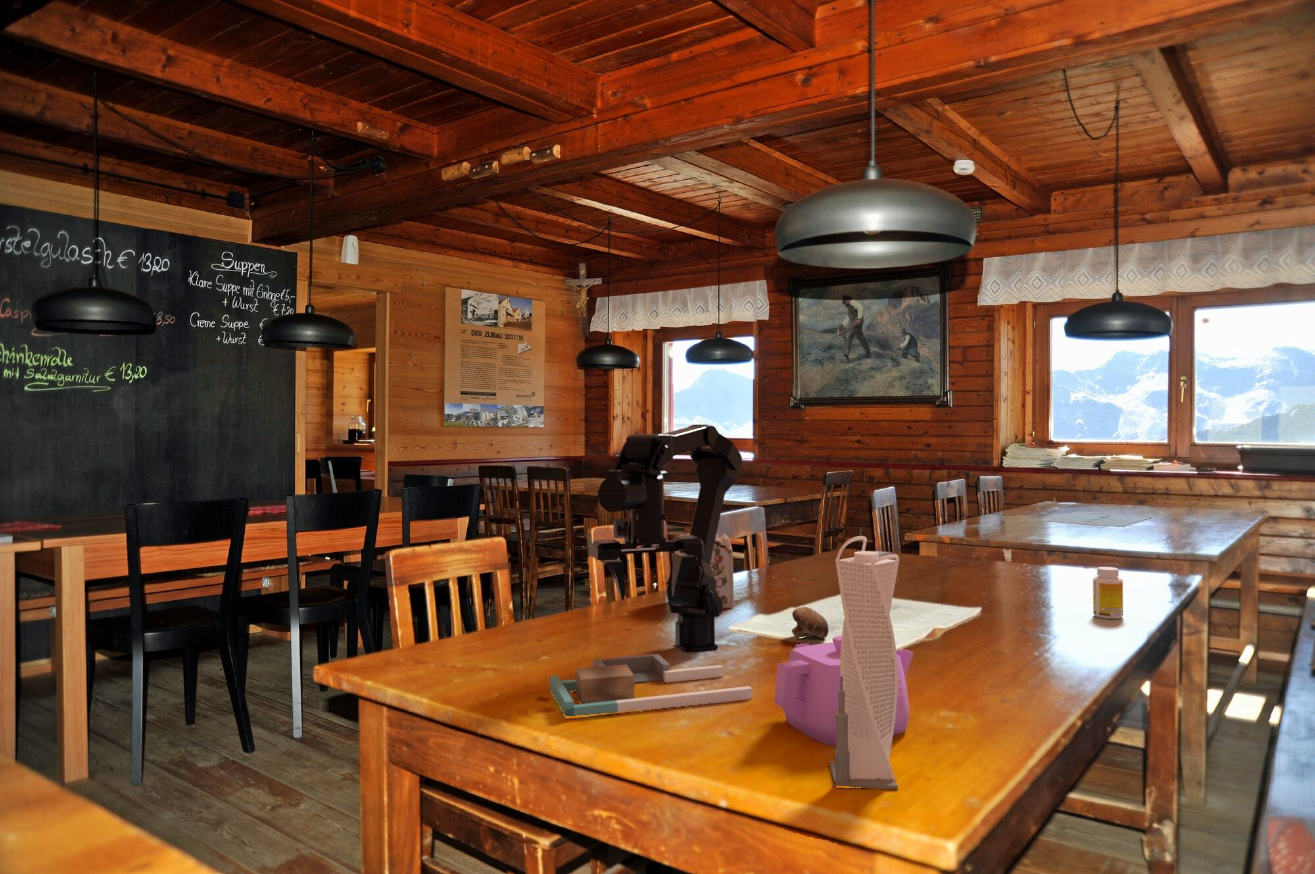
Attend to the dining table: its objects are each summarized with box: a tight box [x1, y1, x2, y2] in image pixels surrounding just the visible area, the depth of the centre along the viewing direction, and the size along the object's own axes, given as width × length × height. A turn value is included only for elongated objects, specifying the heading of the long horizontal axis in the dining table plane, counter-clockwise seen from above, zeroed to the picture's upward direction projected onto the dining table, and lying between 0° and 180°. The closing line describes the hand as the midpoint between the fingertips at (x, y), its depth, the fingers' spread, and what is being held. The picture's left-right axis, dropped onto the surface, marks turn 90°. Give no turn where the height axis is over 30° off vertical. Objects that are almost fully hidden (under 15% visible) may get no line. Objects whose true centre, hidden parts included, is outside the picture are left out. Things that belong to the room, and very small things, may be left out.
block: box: [575, 664, 635, 704], centre depth 133 cm, size 8×6×4 cm
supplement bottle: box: [1092, 566, 1124, 620], centre depth 183 cm, size 6×6×10 cm
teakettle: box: [774, 635, 914, 747], centre depth 120 cm, size 17×17×12 cm
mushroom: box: [791, 606, 829, 639], centre depth 169 cm, size 8×8×6 cm
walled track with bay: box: [549, 653, 753, 716], centre depth 138 cm, size 29×21×2 cm
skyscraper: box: [828, 535, 900, 790], centre depth 104 cm, size 8×8×28 cm
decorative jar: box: [679, 532, 735, 610], centre depth 201 cm, size 12×12×18 cm
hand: (648, 597), depth 150 cm, fingers open, 9 cm apart
